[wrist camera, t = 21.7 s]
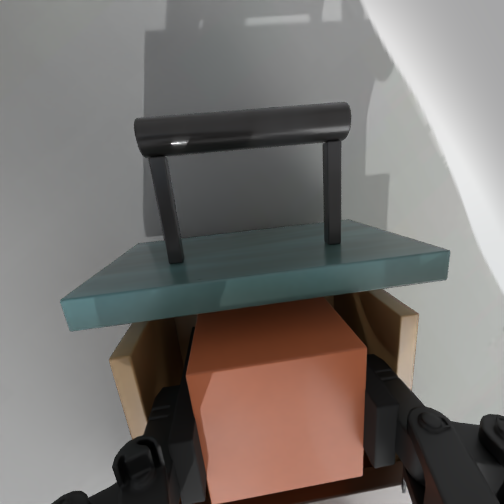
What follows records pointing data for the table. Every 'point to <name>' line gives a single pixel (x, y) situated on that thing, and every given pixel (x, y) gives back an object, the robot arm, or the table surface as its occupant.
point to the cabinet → (343, 490)
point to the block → (277, 398)
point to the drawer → (249, 260)
